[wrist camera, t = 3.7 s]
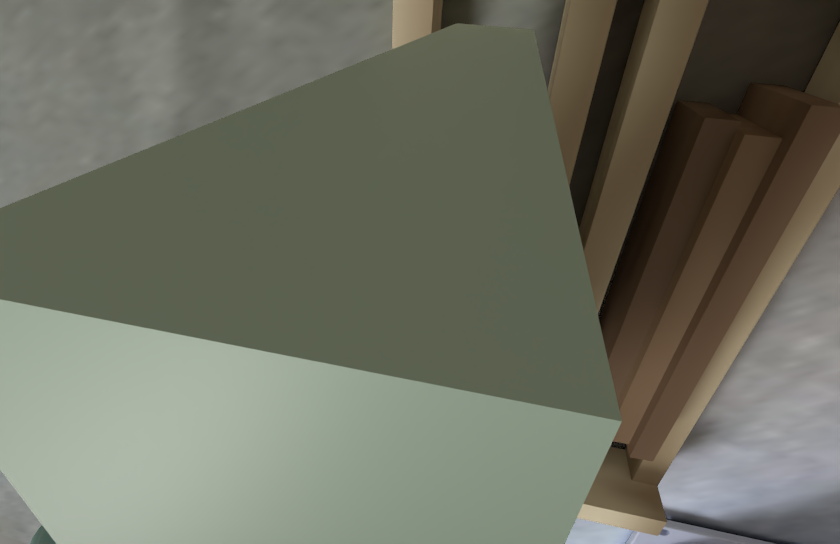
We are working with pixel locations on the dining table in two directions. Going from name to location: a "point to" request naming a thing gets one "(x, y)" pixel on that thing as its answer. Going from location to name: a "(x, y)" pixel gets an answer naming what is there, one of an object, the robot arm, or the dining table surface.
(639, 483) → the offcut rack
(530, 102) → the large sage green box
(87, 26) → the dining table surface
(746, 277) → the offcut stack
